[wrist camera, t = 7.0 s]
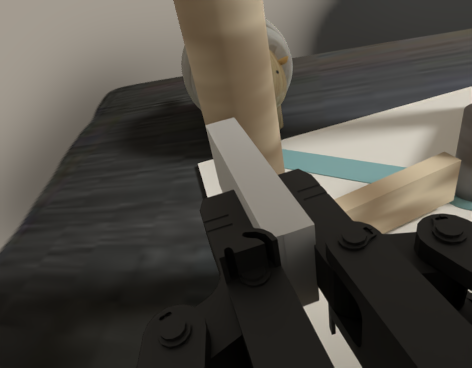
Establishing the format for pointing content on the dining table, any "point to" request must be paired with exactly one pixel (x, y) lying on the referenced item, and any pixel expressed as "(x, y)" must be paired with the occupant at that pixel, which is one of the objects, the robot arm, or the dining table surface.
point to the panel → (265, 111)
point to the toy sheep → (279, 65)
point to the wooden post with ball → (465, 156)
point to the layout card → (369, 171)
